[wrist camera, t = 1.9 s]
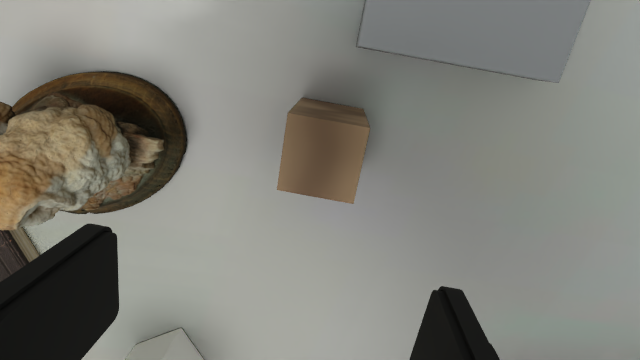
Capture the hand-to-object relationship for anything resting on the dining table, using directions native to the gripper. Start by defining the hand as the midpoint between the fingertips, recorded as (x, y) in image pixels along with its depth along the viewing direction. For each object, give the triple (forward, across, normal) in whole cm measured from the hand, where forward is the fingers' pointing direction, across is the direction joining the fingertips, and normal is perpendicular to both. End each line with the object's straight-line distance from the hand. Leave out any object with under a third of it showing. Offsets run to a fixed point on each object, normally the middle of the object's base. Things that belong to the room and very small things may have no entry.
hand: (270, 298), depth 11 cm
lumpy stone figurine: (+21, +19, +4) cm, 29 cm away
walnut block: (+21, -1, -1) cm, 21 cm away
